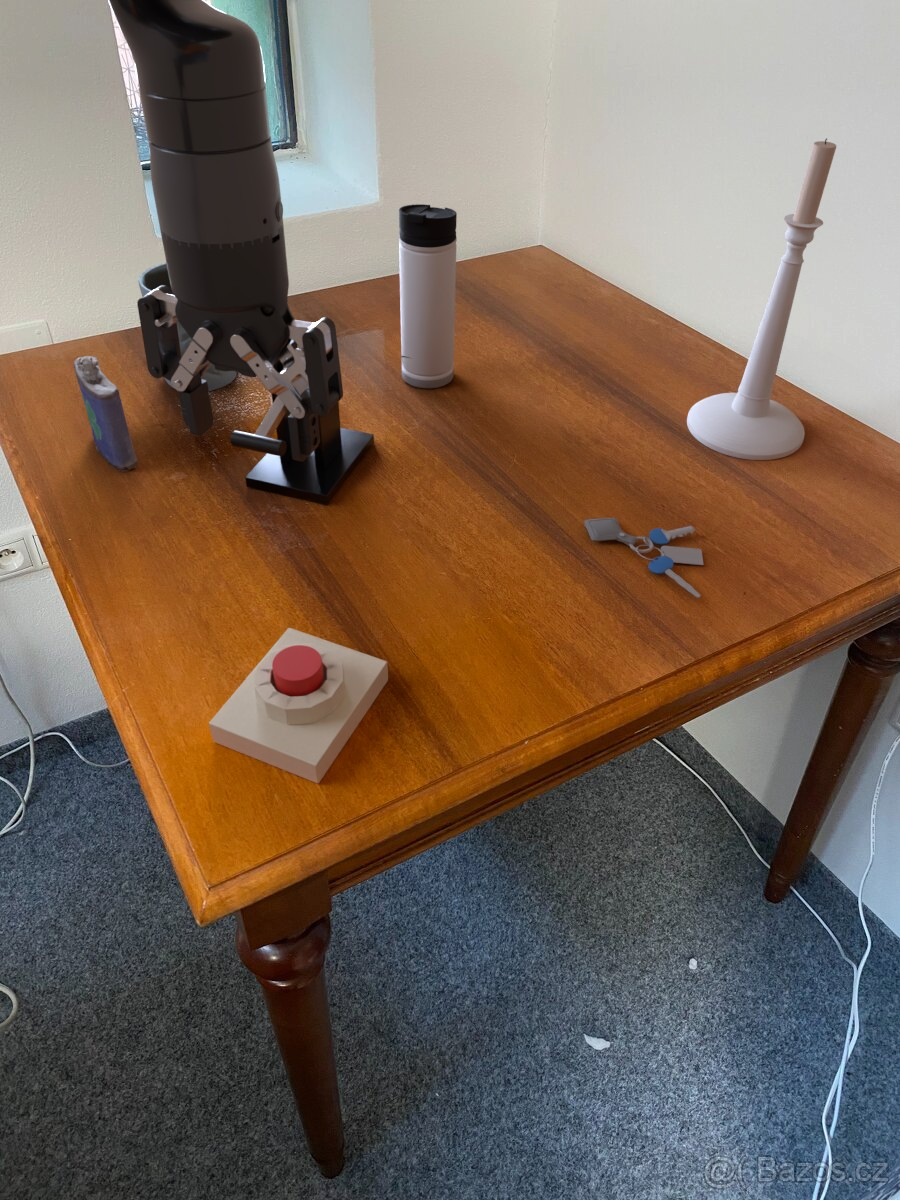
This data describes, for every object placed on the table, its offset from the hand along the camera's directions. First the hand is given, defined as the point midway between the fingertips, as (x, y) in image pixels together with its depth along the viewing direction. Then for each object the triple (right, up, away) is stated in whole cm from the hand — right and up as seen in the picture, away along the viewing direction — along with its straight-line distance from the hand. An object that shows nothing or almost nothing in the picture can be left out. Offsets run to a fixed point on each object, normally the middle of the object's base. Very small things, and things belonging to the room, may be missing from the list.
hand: (252, 443), depth 65 cm
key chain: (+34, -7, +18) cm, 39 cm away
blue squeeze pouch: (-21, +4, +28) cm, 35 cm away
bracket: (0, +3, +27) cm, 27 cm away
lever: (-1, +6, +18) cm, 19 cm away
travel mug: (+12, +15, +41) cm, 45 cm away
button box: (+3, -20, +2) cm, 21 cm away
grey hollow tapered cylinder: (-15, +15, +41) cm, 46 cm away
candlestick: (+48, +8, +34) cm, 59 cm away
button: (+4, -18, 0) cm, 18 cm away
